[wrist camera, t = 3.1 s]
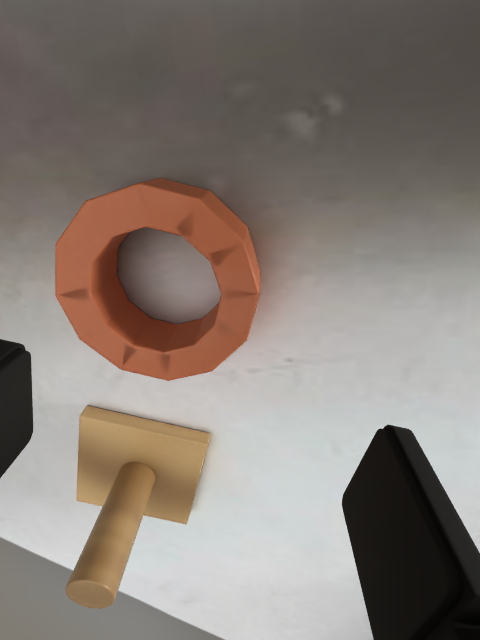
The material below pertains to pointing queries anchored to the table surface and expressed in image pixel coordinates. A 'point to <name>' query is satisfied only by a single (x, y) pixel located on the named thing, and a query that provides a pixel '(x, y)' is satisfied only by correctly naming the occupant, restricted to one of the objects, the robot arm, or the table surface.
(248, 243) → the ring
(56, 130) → the table surface
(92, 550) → the ring stand
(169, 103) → the table surface
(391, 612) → the robot arm
